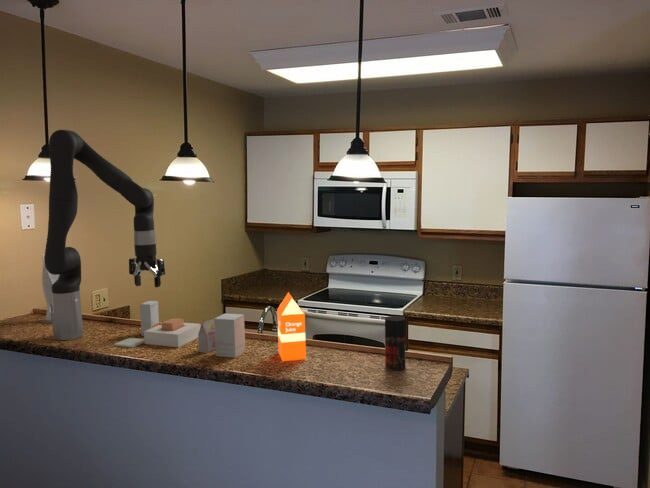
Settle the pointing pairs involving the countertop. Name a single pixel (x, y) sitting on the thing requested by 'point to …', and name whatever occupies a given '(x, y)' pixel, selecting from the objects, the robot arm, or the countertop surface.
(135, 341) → the mat
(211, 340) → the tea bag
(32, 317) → the countertop surface
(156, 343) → the frame
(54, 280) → the skyscraper
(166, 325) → the button
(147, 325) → the skincare box
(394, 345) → the deodorant
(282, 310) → the orange juice
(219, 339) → the supplement box
